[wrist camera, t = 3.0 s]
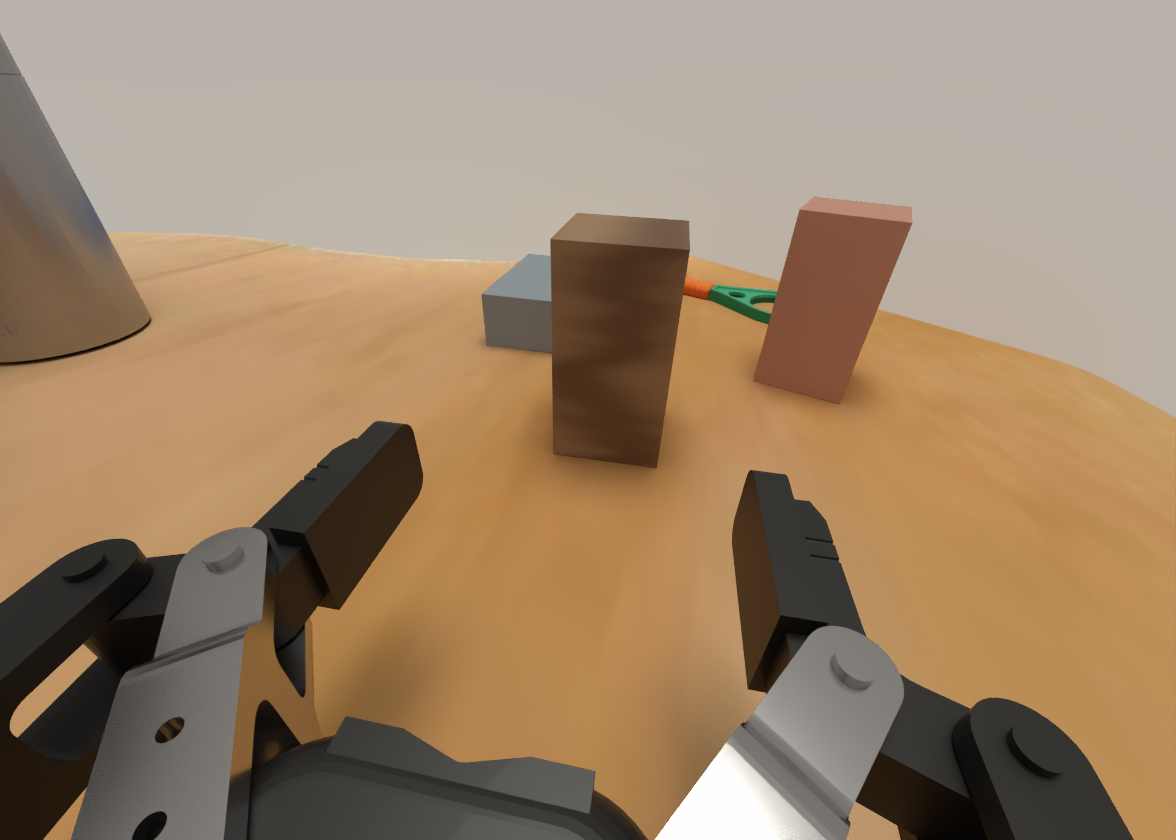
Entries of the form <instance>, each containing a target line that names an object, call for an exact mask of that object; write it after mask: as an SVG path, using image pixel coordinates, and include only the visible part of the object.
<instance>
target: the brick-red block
mask: <svg viewBox="0 0 1176 840" xmlns="http://www.w3.org/2000/svg"><path fill="white" fill-rule="evenodd" d="M911 225H912V209H911V207H904V206H894V205H885V204H875V203H866V202H857V201H848V200H839V199H829V198H819V197H813V198H812V199H811V200H810V201H809V202H808V203H806V204H805V205H804V206H803V207H802V208H801V209H800V210H799V214H798V218H797V222H796V225H795V229H794V232H793V236H792V240H791V244H790V247H789V251H788V255H787V258H786V262H785V266H784V270H783V273H782V277H781V280H780V284H779V288H778V292H777V295H776V299H775V303H774V306H773V310H772V314H771V317H770V321H769V325H768V329H767V332H766V336H765V340H764V343H763V347H762V351H761V354H760V358H759V362H758V366H757V369H756V373H755V377H754V380H753V381H756V382H759V383H763V384H767V385H770V386H774V387H778V388H781V389H785V390H789V391H793V392H796V393H800V394H804V395H807V396H811V397H815V398H818V399H822V400H826V401H830V402H833V403H837V404H839V403H840V400H841V398H842V395H843V393H844V391H845V388H846V386H847V383H848V381H849V378H850V376H851V373H852V371H853V368H854V366H855V363H856V361H857V358H858V356H859V353H860V351H861V348H862V346H863V344H864V341H865V339H866V336H867V334H868V331H869V329H870V326H871V324H872V321H873V319H874V316H875V314H876V311H877V309H878V306H879V304H880V302H881V299H882V297H883V294H884V292H885V289H886V286H887V284H888V282H889V279H890V277H891V274H892V272H893V269H894V267H895V264H896V262H897V259H898V257H899V255H900V252H901V250H902V247H903V245H904V242H905V240H906V237H907V235H908V232H909V230H910V227H911Z"/></svg>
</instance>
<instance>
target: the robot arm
mask: <svg viewBox="0 0 1176 840" xmlns="http://www.w3.org/2000/svg"><path fill="white" fill-rule="evenodd" d="M149 319H150V314H149V312H148V310H147V308H146V306H145V304H144V302H143V301H142V299H141V297H140V295H139V293H138V291H137V289H136V287H135V286H134V284H133V282H132V280H131V278H130V276H129V274H128V272H127V271H126V269H125V267H124V265H123V263H122V261H121V259H120V257H119V255H118V253H117V251H116V249H115V247H114V246H113V244H112V242H111V240H110V238H109V236H108V234H107V233H106V231H105V229H104V227H103V225H102V223H101V221H100V219H99V217H98V216H97V214H96V212H95V210H94V208H93V206H92V204H91V202H90V201H89V199H88V197H87V195H86V193H85V191H84V190H83V188H82V186H81V184H80V182H79V180H78V179H77V176H76V174H75V173H74V171H73V169H72V167H71V165H70V163H69V161H68V159H67V158H66V156H65V154H64V152H63V150H62V148H61V146H60V145H59V143H58V141H57V139H56V137H55V135H54V133H53V131H52V129H51V128H50V126H49V124H48V122H47V120H46V119H45V116H44V115H43V113H42V111H41V110H40V107H39V105H38V103H37V102H36V100H35V98H34V96H33V94H32V92H31V90H30V88H29V87H28V85H27V83H26V81H25V79H24V77H23V76H21V72H20V70H19V68H18V67H17V65H16V63H15V61H14V59H13V58H12V55H11V53H10V52H9V50H8V48H7V46H6V44H5V42H4V40H3V38H2V37H1V35H0V362H18V361H27V360H36V359H42V358H48V357H54V356H60V355H64V354H69V353H73V352H78V351H82V350H86V349H89V348H93V347H97V346H100V345H103V344H106V343H109V342H112V341H115V340H118V339H120V338H122V337H124V336H127V335H129V334H131V333H133V332H135V331H137V330H138V329H140V328H142V327H143V326H144V325H145V324H147V323H148V321H149ZM422 483H423V472H422V467H421V463H420V458H419V454H418V450H417V445H416V441H415V436H414V432H413V430H412V428H411V426H409V425H407V424H400V423H392V422H384V421H376V422H374V423H373V424H372V425H371V426H370V427H369V428H368V429H367V430H366V431H365V432H364V433H363V434H362V435H361V436H360V437H359V438H358V439H355V438H353V439H351V440H350V441H348V442H346V443H344V444H342V445H341V446H339V447H337V448H335V449H333V450H332V451H331V452H330V453H329V454H328V455H327V456H326V457H325V458H324V459H322V460H321V461H320V462H319V463H318V464H317V468H313V469H312V470H311V471H310V472H309V473H308V474H307V475H306V476H305V477H304V480H301V481H300V482H298V483H297V484H296V485H295V486H294V487H293V488H292V489H291V490H290V491H289V492H288V493H287V494H286V495H285V496H284V497H283V498H282V499H281V500H280V501H279V502H278V503H277V504H275V505H274V506H273V507H272V508H271V509H270V510H269V511H268V512H267V513H266V514H265V515H264V516H263V517H262V518H261V519H260V520H259V521H258V522H257V523H256V524H255V525H254V526H252V527H251V528H250V527H241V528H234V529H229V530H226V531H223V532H220V533H217V534H215V535H213V536H211V537H209V538H207V539H205V540H203V541H202V542H200V543H199V544H197V545H196V546H195V547H193V548H192V549H191V550H190V551H189V552H188V553H187V554H178V555H169V556H160V557H150V558H146V557H145V555H144V554H143V553H142V552H141V550H140V549H139V548H138V546H137V545H136V544H135V543H134V542H132V541H130V540H127V539H110V540H104V541H100V542H96V543H93V544H90V545H87V546H84V547H82V548H80V549H77V550H75V551H73V552H71V553H69V554H67V555H66V556H64V557H62V558H61V559H59V560H58V561H56V562H55V563H53V564H52V565H51V566H49V567H48V568H47V569H45V570H44V571H43V572H41V573H40V574H39V575H37V576H36V577H35V578H33V579H32V580H31V581H29V582H28V583H27V584H25V585H24V586H23V587H22V588H20V589H19V590H18V591H16V592H15V593H14V594H12V595H11V596H10V597H8V598H7V599H6V600H4V601H3V602H2V603H0V840H43V839H44V838H45V836H46V835H47V834H48V833H49V832H50V830H51V829H52V828H53V827H54V826H55V824H56V823H57V822H58V821H59V820H60V818H61V817H62V816H63V815H64V814H65V812H66V811H67V810H68V809H69V808H70V806H71V805H72V804H73V803H74V802H75V800H76V799H77V798H78V797H79V796H80V794H81V793H82V792H83V791H84V790H85V788H86V787H87V789H86V792H85V795H84V799H83V802H82V805H81V808H80V812H79V815H78V818H77V821H76V825H75V828H74V831H73V834H72V838H71V840H648V839H647V838H646V836H645V835H644V834H643V833H642V831H641V830H640V829H639V827H638V826H637V825H636V823H635V822H634V821H633V820H632V819H631V818H630V817H629V816H628V815H627V814H626V813H625V812H624V811H623V810H622V809H621V808H620V807H618V806H617V805H616V804H615V803H613V802H612V801H611V800H610V799H608V798H607V797H605V796H604V795H602V794H600V793H599V792H597V791H595V790H594V781H595V771H592V770H588V769H583V768H579V767H574V766H570V765H565V764H561V763H556V762H552V761H547V760H542V759H538V758H533V757H524V758H513V759H502V760H491V761H479V762H468V763H461V762H457V761H455V760H453V759H451V758H450V757H448V756H446V755H445V754H443V753H442V752H440V751H438V750H437V749H435V748H434V747H432V746H430V745H429V744H427V743H426V742H424V741H422V740H421V739H419V738H418V737H416V736H414V735H413V734H411V733H410V732H408V731H406V730H405V729H402V728H397V727H393V726H388V725H384V724H379V723H375V722H370V721H366V720H361V719H357V718H352V717H348V716H346V717H345V719H344V720H343V722H342V724H341V726H340V728H339V729H338V731H337V733H336V735H335V736H330V737H325V738H322V735H321V730H320V727H319V723H318V720H317V717H316V712H315V705H314V674H313V635H312V622H311V620H310V618H309V617H310V616H311V614H312V613H313V612H314V610H315V609H316V608H317V606H321V607H326V608H331V609H337V610H340V608H341V607H342V605H343V604H344V603H345V601H346V600H347V598H348V597H349V595H350V594H351V592H352V591H353V590H354V588H355V587H356V585H357V584H358V582H359V581H360V580H361V578H362V577H363V575H364V574H365V572H366V571H367V569H368V568H369V567H370V565H371V564H372V562H373V561H374V559H375V558H376V556H377V555H378V554H379V552H380V551H381V549H382V548H383V546H384V545H385V544H386V542H387V541H388V539H389V538H390V536H391V535H392V533H393V532H394V531H395V529H396V528H397V526H398V525H399V523H400V522H401V521H402V519H403V518H404V516H405V515H406V513H407V512H408V510H409V509H410V508H411V506H412V505H413V503H414V502H415V500H416V499H417V497H418V496H419V494H420V491H421V488H422ZM732 548H733V557H734V566H735V576H736V585H737V594H738V603H739V613H740V622H741V631H742V640H743V650H744V659H745V668H746V677H747V687H748V689H750V690H755V691H760V692H766V696H765V697H764V699H763V700H762V701H761V703H760V704H759V706H758V707H757V708H756V710H755V711H754V712H753V714H752V715H751V716H750V718H749V719H748V720H747V721H746V722H745V723H742V724H741V725H740V726H739V727H738V728H737V729H736V731H735V732H734V733H733V734H732V736H731V737H730V738H729V740H728V741H727V742H726V744H725V745H724V747H723V748H722V749H721V751H720V752H719V753H718V755H717V756H716V757H715V759H714V760H713V762H712V763H711V764H710V766H709V767H708V768H707V770H706V771H705V772H704V774H703V775H702V777H701V778H700V779H699V781H698V782H697V783H696V785H695V786H694V787H693V789H692V790H691V792H690V793H689V794H688V796H687V797H686V798H685V800H684V801H683V802H682V804H681V805H680V807H679V808H678V809H677V811H676V812H675V813H674V815H673V816H672V817H671V819H670V820H669V822H668V823H667V824H666V826H665V827H664V828H663V830H662V831H661V832H660V834H659V835H658V837H657V838H656V839H655V840H846V838H847V835H848V832H849V829H850V822H849V821H848V818H849V814H850V812H851V809H852V807H853V805H854V802H855V801H856V802H857V803H859V804H861V805H863V806H864V807H866V808H868V809H870V810H871V811H873V812H875V813H877V814H878V815H880V816H882V817H884V818H885V819H887V820H889V821H890V822H892V823H894V824H896V825H897V826H898V830H899V834H900V838H901V840H1134V839H1133V838H1132V836H1131V834H1130V832H1129V831H1128V829H1127V827H1126V825H1125V824H1124V822H1123V820H1122V818H1121V816H1120V815H1119V813H1118V811H1117V809H1116V808H1115V806H1114V804H1113V802H1112V801H1111V799H1110V797H1109V795H1108V794H1107V792H1106V790H1105V788H1104V787H1103V785H1102V783H1101V781H1100V780H1099V778H1098V776H1097V774H1096V773H1095V771H1094V769H1093V767H1092V766H1091V764H1090V763H1089V761H1088V759H1087V758H1086V756H1085V755H1084V754H1083V753H1082V751H1081V750H1080V749H1079V748H1078V746H1077V745H1076V744H1075V743H1074V742H1073V741H1072V740H1071V739H1070V738H1069V737H1068V736H1067V735H1066V734H1065V733H1064V732H1063V731H1062V730H1061V729H1059V728H1058V727H1057V726H1056V725H1055V724H1053V723H1052V722H1051V721H1049V720H1048V719H1047V718H1045V717H1044V716H1042V715H1040V714H1039V713H1037V712H1036V711H1034V710H1032V709H1030V708H1028V707H1026V706H1024V705H1022V704H1019V703H1017V702H1014V701H1011V700H1007V699H1002V698H987V699H983V700H981V701H979V702H978V703H976V704H975V705H974V706H973V707H972V708H971V709H970V708H968V707H965V706H963V705H961V704H959V703H957V702H955V701H952V700H950V699H948V698H946V697H944V696H942V695H939V694H937V693H935V692H933V691H931V690H929V689H926V688H924V687H922V686H920V685H918V684H916V683H914V682H912V681H910V680H909V679H907V678H906V677H904V676H902V675H901V674H900V673H899V671H898V669H897V667H896V666H895V664H894V663H893V661H892V660H891V658H890V657H889V656H888V655H887V654H886V653H885V651H883V650H882V649H881V648H880V647H879V646H878V645H877V644H876V643H874V642H873V641H872V640H870V639H869V638H867V637H866V634H865V632H864V630H863V627H862V624H861V621H860V618H859V615H858V612H857V609H856V606H855V603H854V601H853V598H852V595H851V592H850V589H849V586H848V583H847V580H846V577H845V574H844V571H843V569H842V566H841V563H839V557H838V554H837V551H836V548H835V545H833V540H832V537H831V534H830V531H829V528H828V525H827V522H826V520H825V519H824V518H823V516H822V515H821V514H820V513H819V512H818V511H817V509H816V508H815V507H814V506H813V505H812V504H811V502H810V501H803V500H795V499H794V497H793V494H792V490H791V487H790V483H789V480H788V477H787V476H786V475H785V474H777V473H770V472H762V471H754V470H750V471H749V473H748V475H747V478H746V481H745V484H744V488H743V491H742V495H741V498H740V502H739V505H738V509H737V512H736V515H735V519H734V524H733V532H732ZM82 644H84V645H85V646H86V647H87V648H88V649H89V650H90V651H92V652H93V653H94V654H95V655H96V656H97V657H98V659H97V660H96V661H95V662H94V663H93V664H92V665H91V666H90V667H88V668H87V669H86V670H85V671H84V672H83V673H82V674H81V675H80V676H79V677H78V678H77V679H76V680H75V681H74V682H73V683H72V684H71V685H70V686H69V687H68V688H67V689H66V690H65V691H64V692H63V693H62V694H61V695H60V696H59V697H58V698H57V699H56V700H55V701H54V702H53V703H52V704H51V705H50V706H49V707H48V708H47V709H46V710H45V711H44V712H43V713H42V714H41V715H40V716H39V717H38V718H37V719H36V720H35V721H34V722H33V723H32V724H31V725H30V726H29V727H28V728H27V729H26V730H25V731H24V732H23V733H22V734H21V735H20V736H19V737H18V738H17V737H15V736H14V735H13V734H12V733H11V731H10V720H11V717H12V715H13V713H14V711H15V710H16V708H17V707H18V705H19V704H20V703H21V702H22V701H23V700H24V699H25V697H27V696H28V695H29V694H30V693H31V692H32V691H33V690H34V689H35V688H36V687H37V686H38V685H39V684H40V683H41V682H43V681H44V680H45V679H46V678H47V677H48V676H49V675H50V674H51V673H52V672H53V671H54V670H55V669H56V668H57V667H59V666H60V665H61V664H62V663H63V662H64V661H65V660H66V659H67V658H68V657H69V656H70V655H71V654H72V653H73V652H75V651H76V650H77V649H78V648H79V647H80V646H81V645H82Z"/></svg>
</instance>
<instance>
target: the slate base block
mask: <svg viewBox="0 0 1176 840" xmlns="http://www.w3.org/2000/svg"><path fill="white" fill-rule="evenodd" d="M482 304H483V314H484V324H485V334H486V344H487V345H489V346H497V347H505V348H513V349H521V350H529V351H538V352H546V353H552V313H551V256H544V255H534V254H528V255H527V256H526V257H525V258H524V259H522V260H521V261H520V262H519V263H517V264H516V265H515V266H514V267H513V268H512V269H510V270H509V271H508V272H507V273H506V274H504V275H503V276H502V277H501V278H500V279H499V280H497V281H496V282H495V283H494V284H493V285H491V286H490V287H489V288H488V289H487V290H486V291H484V292H483V293H482Z"/></svg>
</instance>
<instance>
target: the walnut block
mask: <svg viewBox="0 0 1176 840" xmlns="http://www.w3.org/2000/svg"><path fill="white" fill-rule="evenodd" d="M689 251H690V242H689V221H683V220H668V219H654V218H639V217H626V216H611V215H597V214H583V213H577V214H576V215H575V216H574V217H572V219H570V220H569V221H568V223H566V224H565V225H564V227H562V228H561V229H560V230H559V231H558V232H557V233H556V234H555V235H554V236H553V237H552V238H551V313H552V387H553V454H557V455H565V456H572V457H579V458H587V459H594V460H601V461H608V462H616V463H623V464H630V465H638V466H645V467H652V468H657V461H658V455H659V448H660V442H661V435H662V428H663V422H664V415H665V409H666V402H667V396H668V389H669V383H670V376H671V369H672V363H673V356H674V350H675V343H676V337H677V330H678V323H679V317H680V310H681V304H682V297H683V291H684V284H685V278H686V271H687V264H688V258H689Z"/></svg>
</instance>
